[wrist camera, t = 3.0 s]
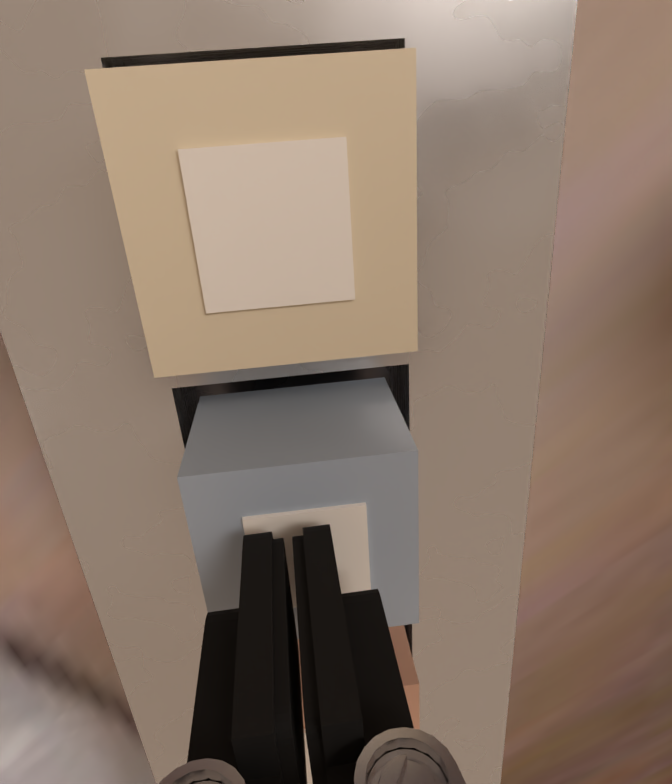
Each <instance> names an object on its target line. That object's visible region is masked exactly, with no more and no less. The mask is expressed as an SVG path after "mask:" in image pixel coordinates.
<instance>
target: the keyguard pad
mask: <svg viewBox="0 0 672 784" xmlns="http://www.w3.org/2000/svg"><path fill="white" fill-rule="evenodd" d="M577 1H578V0H0V332H1V335H2V338H3V341H4V343H5V346H6V349H7V352H8V355H9V358H10V361H11V364H12V367H13V370H14V372H15V375H16V378H17V381H18V384H19V387H20V390H21V393H22V396H23V399H24V402H25V404H26V407H27V410H28V413H29V416H30V419H31V422H32V425H33V428H34V431H35V433H36V436H37V439H38V442H39V445H40V448H41V451H42V454H43V457H44V460H45V463H46V465H47V468H48V471H49V474H50V477H51V480H52V483H53V486H54V489H55V492H56V494H57V497H58V500H59V503H60V506H61V509H62V512H63V515H64V518H65V521H66V524H67V526H68V529H69V532H70V535H71V538H72V541H73V544H74V547H75V550H76V553H77V555H78V558H79V561H80V564H81V567H82V570H83V573H84V576H85V579H86V582H87V585H88V587H89V590H90V593H91V596H92V599H93V602H94V605H95V608H96V611H97V614H98V616H99V619H100V622H101V625H102V628H103V631H104V634H105V637H106V640H107V643H108V646H109V648H110V651H111V654H112V657H113V660H114V663H115V666H116V669H117V672H118V675H119V677H120V680H121V683H122V686H123V689H124V692H125V695H126V698H127V701H128V704H129V707H130V709H131V712H132V715H133V718H134V721H135V724H136V727H137V730H138V733H139V736H140V738H141V741H142V744H143V747H144V750H145V753H146V756H147V759H148V762H149V765H150V768H151V770H152V773H153V776H154V779H155V782H156V784H159V783H160V781H161V780H162V779H163V778H165V777H166V776H167V775H168V774H170V773H171V772H172V771H173V770H174V769H176V768H178V767H180V766H182V765H184V764H186V763H187V758H188V750H189V742H190V735H191V727H192V719H193V711H194V703H195V696H196V688H197V680H198V672H199V664H200V657H201V649H202V641H203V633H204V625H205V620H206V615H207V613H208V611H207V607H206V603H205V598H204V594H203V589H202V585H201V581H200V576H199V572H198V567H197V563H196V559H195V554H194V550H193V546H192V541H191V537H190V532H189V528H188V524H187V519H186V515H185V510H184V506H183V502H182V497H181V493H180V488H179V484H178V480H177V476H178V472H179V469H180V465H181V462H182V458H183V455H184V451H185V448H186V444H187V441H188V437H189V434H190V430H191V427H192V423H193V420H194V416H195V413H196V409H197V406H198V402H199V399H200V396H209V395H219V394H228V393H238V392H247V391H257V390H267V389H276V388H286V387H295V386H305V385H315V384H324V383H334V382H343V381H353V380H363V379H372V378H382V377H385V379H386V381H387V384H388V386H389V388H390V390H391V392H392V394H393V397H394V399H395V401H396V403H397V405H398V407H399V410H400V412H401V414H402V416H403V418H404V421H405V423H406V425H407V427H408V429H409V431H410V434H411V436H412V438H413V440H414V442H415V444H416V447H417V449H418V511H419V623H416V624H408V625H404V628H405V632H406V635H407V639H408V643H409V647H410V650H411V654H412V658H413V662H414V665H415V669H416V673H417V677H418V680H419V707H420V730H422V731H424V732H426V733H428V734H430V735H432V736H434V737H435V738H436V739H438V740H439V741H440V742H441V743H442V744H443V745H444V746H445V747H447V749H448V750H449V752H450V754H451V755H452V757H453V758H454V760H455V761H456V763H457V765H458V767H459V770H460V772H461V774H462V776H463V778H464V780H465V783H466V784H500V783H501V773H502V763H503V753H504V742H505V732H506V722H507V712H508V702H509V692H510V681H511V671H512V661H513V651H514V641H515V631H516V621H517V610H518V600H519V590H520V580H521V570H522V560H523V549H524V539H525V529H526V519H527V509H528V499H529V489H530V478H531V468H532V458H533V448H534V438H535V428H536V417H537V407H538V397H539V387H540V377H541V367H542V357H543V346H544V336H545V326H546V316H547V306H548V296H549V285H550V275H551V265H552V255H553V245H554V235H555V224H556V214H557V204H558V194H559V184H560V174H561V164H562V153H563V143H564V133H565V123H566V113H567V103H568V92H569V82H570V72H571V62H572V52H573V42H574V32H575V21H576V11H577ZM402 48H416V117H417V314H418V351H415V352H405V353H395V354H385V355H375V356H365V357H356V358H346V359H336V360H326V361H316V362H306V363H296V364H287V365H277V366H267V367H257V368H247V369H237V370H227V371H218V372H208V373H198V374H188V375H178V376H168V377H158V378H154V374H153V370H152V365H151V361H150V357H149V352H148V348H147V344H146V339H145V335H144V330H143V326H142V322H141V317H140V313H139V308H138V304H137V300H136V295H135V291H134V286H133V282H132V278H131V273H130V269H129V264H128V260H127V256H126V251H125V247H124V243H123V238H122V234H121V229H120V225H119V221H118V216H117V212H116V207H115V203H114V199H113V194H112V190H111V185H110V181H109V177H108V172H107V168H106V163H105V159H104V155H103V150H102V146H101V141H100V137H99V133H98V128H97V124H96V120H95V115H94V111H93V106H92V102H91V98H90V93H89V89H88V84H87V80H86V76H85V71H84V69H99V68H114V67H129V66H144V65H159V64H175V63H190V62H205V61H220V60H235V59H250V58H266V57H281V56H296V55H311V54H326V53H342V52H357V51H372V50H387V49H402Z"/></svg>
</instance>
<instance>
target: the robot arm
mask: <svg viewBox="0 0 672 784" xmlns="http://www.w3.org/2000/svg"><path fill="white" fill-rule="evenodd" d="M302 529H303V535H301V536H293V537H292V543H293V558H294V573H295V588H296V603H297V619H298V634H299V649H300V663H299V650H298V640H297V632H296V625H295V617H294V610H293V603H292V595H291V588H290V581H289V573H288V566H287V559H286V551H285V544H284V538H278V539H273V534H272V532H265V533H257V534H249V535H244V536H243V546H242V563H241V580H240V597H239V608H235V609H228V610H221V611H214V612H208V613H207V615H206V620H205V625H204V633H203V641H202V649H201V657H200V664H199V672H198V680H197V688H196V696H195V703H194V711H193V719H192V727H191V735H190V742H189V750H188V758H187V763H186V764H184V765H182V766H180V767H178V768H176V769H174V770H173V771H172V772H171V773H170V774H168V775H167V776H166V777H165V778H163V779H162V780H161V781H160V783H159V784H307V773H306V757H305V741H304V726H303V710H302V695H303V709H304V721H305V731H306V739H307V746H308V753H309V761H310V768H311V775H312V782H313V784H466V783H465V780H464V778H463V776H462V774H461V772H460V770H459V767H458V765H457V763H456V761H455V760H454V758H453V757H452V755H451V754H450V752H449V750H448V749H447V747H445V746H444V745H443V744H442V743H441V742H440V741H439V740H438V739H436V738H435V737H434V736H432V735H430V734H428V733H426V732H424V731H422V730H419V729H414V726H413V722H412V718H411V714H410V711H409V707H408V703H407V699H406V695H405V691H404V687H403V683H402V679H401V675H400V671H399V667H398V663H397V659H396V655H395V651H394V647H393V643H392V639H391V635H390V631H389V627H388V623H387V619H386V616H385V612H384V608H383V604H382V600H381V596H380V593H379V590H378V589H372V590H365V591H358V592H350V593H343V594H341V588H340V582H339V576H338V570H337V564H336V558H335V552H334V546H333V540H332V534H331V528H330V524H326V525H319V526H311V527H303V528H302ZM300 664H301V679H302V695H301V679H300Z"/></svg>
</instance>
